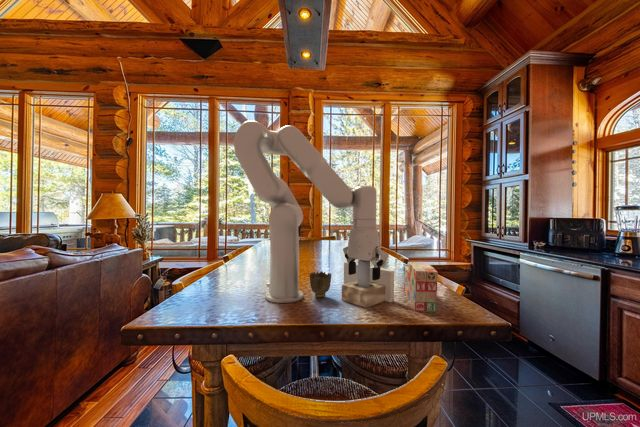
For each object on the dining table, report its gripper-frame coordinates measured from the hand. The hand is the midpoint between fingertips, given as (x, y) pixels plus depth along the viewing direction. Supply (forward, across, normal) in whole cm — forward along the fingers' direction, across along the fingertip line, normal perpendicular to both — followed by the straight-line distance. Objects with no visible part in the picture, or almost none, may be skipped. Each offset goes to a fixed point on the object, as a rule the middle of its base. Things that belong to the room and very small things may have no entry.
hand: (363, 276), depth 94 cm
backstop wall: (+8, -3, +6) cm, 10 cm away
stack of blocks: (+8, +12, +14) cm, 20 cm away
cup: (+8, -12, -8) cm, 16 cm away
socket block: (+8, 0, 0) cm, 8 cm away
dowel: (+7, 0, 0) cm, 7 cm away
